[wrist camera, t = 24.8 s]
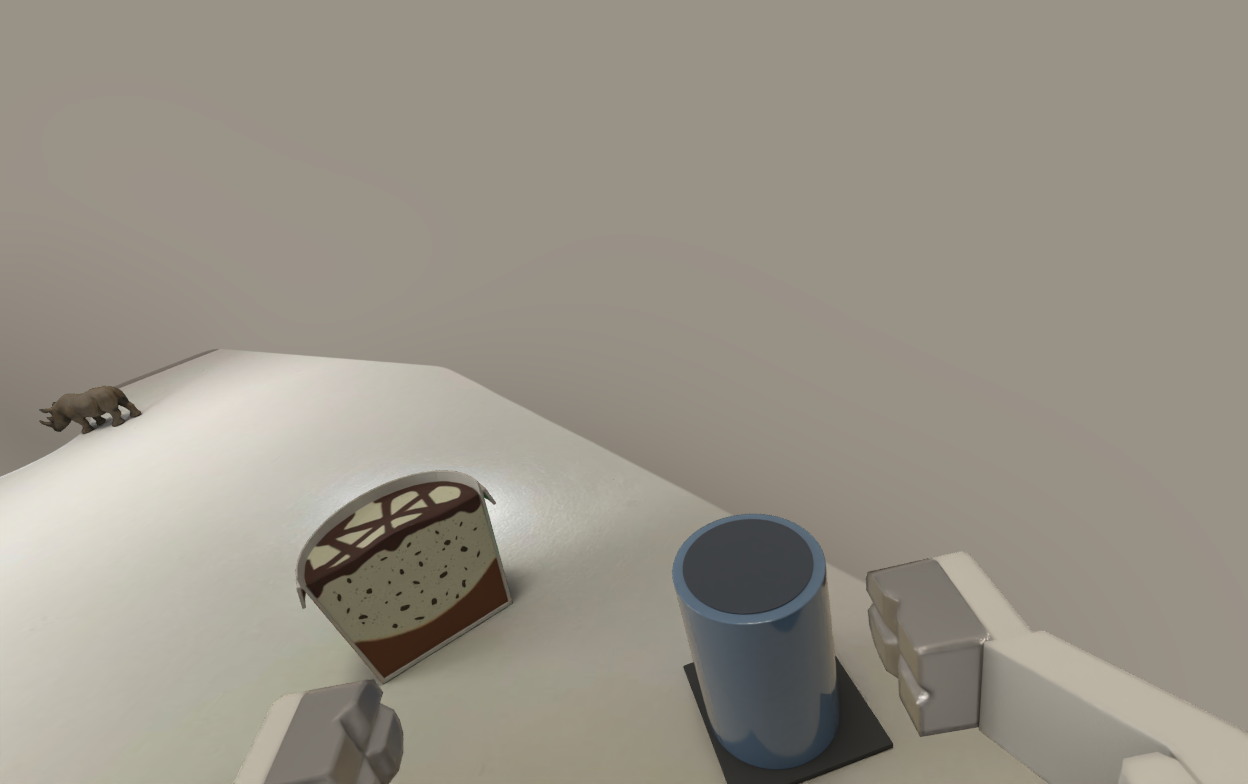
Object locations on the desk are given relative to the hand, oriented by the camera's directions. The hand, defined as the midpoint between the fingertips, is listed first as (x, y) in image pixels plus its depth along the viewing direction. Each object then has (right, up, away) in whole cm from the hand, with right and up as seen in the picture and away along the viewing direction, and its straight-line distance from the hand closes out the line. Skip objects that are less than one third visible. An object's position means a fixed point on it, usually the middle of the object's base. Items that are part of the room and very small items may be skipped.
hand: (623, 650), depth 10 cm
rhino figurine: (-81, -1, +87) cm, 118 cm away
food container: (-13, -12, +34) cm, 39 cm away
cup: (+8, -12, +23) cm, 27 cm away
